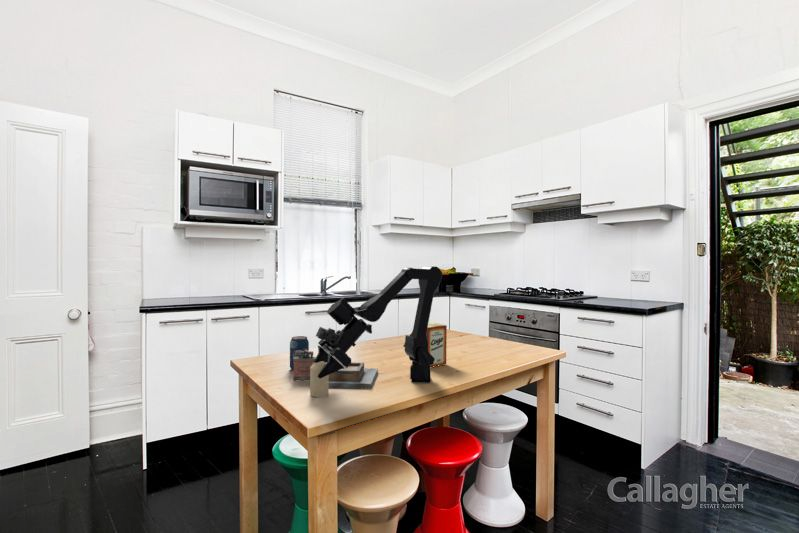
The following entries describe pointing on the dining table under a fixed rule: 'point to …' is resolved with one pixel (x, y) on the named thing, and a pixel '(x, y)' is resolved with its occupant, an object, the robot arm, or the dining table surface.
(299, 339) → the soda can
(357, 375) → the candle stand
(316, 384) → the candle
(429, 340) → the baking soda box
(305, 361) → the lighter
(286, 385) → the dining table surface
